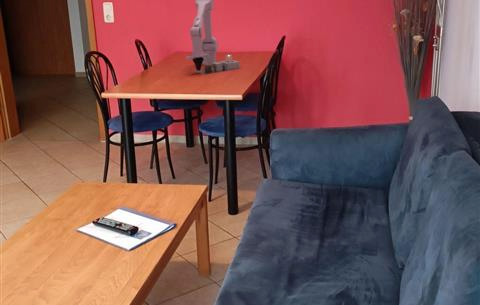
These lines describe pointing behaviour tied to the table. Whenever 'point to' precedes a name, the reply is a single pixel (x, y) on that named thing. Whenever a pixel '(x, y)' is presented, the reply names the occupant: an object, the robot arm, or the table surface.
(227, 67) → the socket
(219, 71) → the base plate
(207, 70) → the pin
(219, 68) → the pin guide
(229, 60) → the peg
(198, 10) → the robot arm
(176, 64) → the table surface
